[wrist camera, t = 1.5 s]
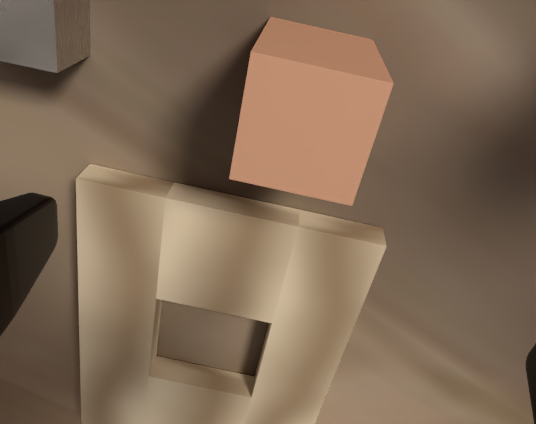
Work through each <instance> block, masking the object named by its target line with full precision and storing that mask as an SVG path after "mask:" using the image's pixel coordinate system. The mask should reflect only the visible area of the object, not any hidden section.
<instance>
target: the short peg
mask: <svg viewBox="0 0 536 424" xmlns="http://www.w3.org/2000/svg"><path fill="white" fill-rule="evenodd" d="M88 56H90V0H0V61H2V62H7V63H12V64H17V65H21V66H26V67H31V68H35V69H40V70H45V71H50V72H54V73H59V72H60V71H62V70H64V69H66V68H68V67H70V66H72V65H73V64H75V63H77V62H79V61H81V60H83V59H84V58H86V57H88Z"/></svg>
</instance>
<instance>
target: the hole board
mask: <svg viewBox="0 0 536 424" xmlns="http://www.w3.org/2000/svg"><path fill="white" fill-rule="evenodd" d="M76 213H77V256H78V300H79V343H80V387H81V424H315V422H316V419H317V417H318V414H319V412H320V409H321V407H322V404H323V402H324V399H325V397H326V395H327V392H328V390H329V387H330V385H331V382H332V380H333V377H334V375H335V372H336V370H337V367H338V365H339V362H340V360H341V357H342V355H343V353H344V350H345V348H346V345H347V343H348V340H349V338H350V335H351V333H352V330H353V328H354V325H355V323H356V320H357V318H358V315H359V313H360V311H361V308H362V306H363V303H364V301H365V298H366V296H367V293H368V291H369V288H370V286H371V283H372V281H373V278H374V276H375V273H376V271H377V268H378V266H379V264H380V261H381V259H382V256H383V254H384V251H385V249H386V241H385V236H384V231H383V228H381V227H377V226H372V225H367V224H363V223H358V222H354V221H349V220H345V219H340V218H335V217H331V216H326V215H322V214H317V213H312V212H308V211H303V210H299V209H294V208H290V207H285V206H280V205H276V204H271V203H267V202H262V201H258V200H253V199H248V198H244V197H239V196H235V195H230V194H225V193H221V192H216V191H212V190H207V189H203V188H198V187H193V186H189V185H184V184H180V183H175V182H171V181H166V180H161V179H157V178H152V177H148V176H143V175H138V174H134V173H129V172H125V171H120V170H116V169H111V168H106V167H102V166H97V165H93V164H89V165H88V166H87V167H86V168H85V170H84V171H83V172H82V173H81V174H80V175H79V176H78V177H77V178H76ZM162 300H165V301H169V302H174V303H179V304H183V305H188V306H193V307H197V308H202V309H207V310H211V311H216V312H221V313H226V314H230V315H235V316H240V317H244V318H249V319H254V320H258V321H263V322H268V323H269V325H268V329H267V333H266V336H265V340H264V344H263V347H262V351H261V355H260V358H259V362H258V366H257V370H256V373H255V377H254V376H250V375H245V374H240V373H235V372H231V371H226V370H221V369H216V368H212V367H207V366H202V365H197V364H193V363H188V362H183V361H179V360H174V359H169V358H164V357H160V356H157V347H158V337H159V328H160V318H161V308H162Z"/></svg>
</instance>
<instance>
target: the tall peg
mask: <svg viewBox="0 0 536 424" xmlns="http://www.w3.org/2000/svg"><path fill="white" fill-rule="evenodd" d="M393 84H394V83H393V81H392V79H391V77H390V75H389V73H388V71H387V69H386V66H385V64H384V62H383V60H382V58H381V56H380V54H379V52H378V50H377V48H376V46H375V43H374V41H373V40H371V39H367V38H363V37H358V36H354V35H349V34H345V33H340V32H336V31H332V30H327V29H323V28H318V27H314V26H309V25H305V24H301V23H296V22H292V21H287V20H283V19H279V18H274V17H270V19H269V20H268V22H267V24H266V26H265V27H264V29H263V31H262V33H261V34H260V36H259V38H258V40H257V41H256V43H255V45H254V47H253V48H252V50H251V53H250V59H249V65H248V71H247V77H246V83H245V89H244V94H243V100H242V106H241V112H240V118H239V124H238V129H237V135H236V141H235V147H234V153H233V159H232V164H231V170H230V176H229V179H231V180H236V181H240V182H245V183H250V184H254V185H259V186H263V187H268V188H272V189H277V190H282V191H286V192H291V193H295V194H300V195H304V196H309V197H314V198H318V199H323V200H327V201H332V202H336V203H341V204H346V205H350V206H352V205H353V202H354V199H355V196H356V193H357V190H358V187H359V184H360V181H361V178H362V175H363V172H364V169H365V166H366V163H367V160H368V157H369V154H370V152H371V149H372V146H373V143H374V140H375V137H376V134H377V131H378V128H379V125H380V122H381V119H382V116H383V113H384V110H385V107H386V104H387V101H388V98H389V95H390V92H391V90H392V87H393Z"/></svg>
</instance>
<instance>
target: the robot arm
mask: <svg viewBox="0 0 536 424" xmlns="http://www.w3.org/2000/svg"><path fill="white" fill-rule="evenodd" d="M57 239H58V220H57V204H56V201H55V200H54V199H53V198H52V197H49V196H45V195H41V194H37V193H27V194H24V195H20V196H17V197H13V198H10V199H6V200H3V201H0V336H1V335H2V333H3V332H4V331H5V329H6V328H7V326H8V325H9V324H10V322H11V321H12V319H13V318H14V316H15V315H16V313H17V312H18V310H19V308H20V307H21V305H22V303H23V302H24V300H25V298H26V297H27V295H28V293H29V291H30V290H31V288H32V286H33V285H34V283H35V281H36V279H37V278H38V276H39V274H40V273H41V271H42V269H43V267H44V266H45V264H46V262H47V261H48V259H49V257H50V255H51V254H52V252H53V250H54V248H55V246H56V243H57ZM526 373H527V379H528V386H529V392H530V399H531V406H532V412H533V419H534V424H536V344H535V345H534V347H533V348H532V349H531V351H530V352H529V354H528V356H527V359H526Z"/></svg>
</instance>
